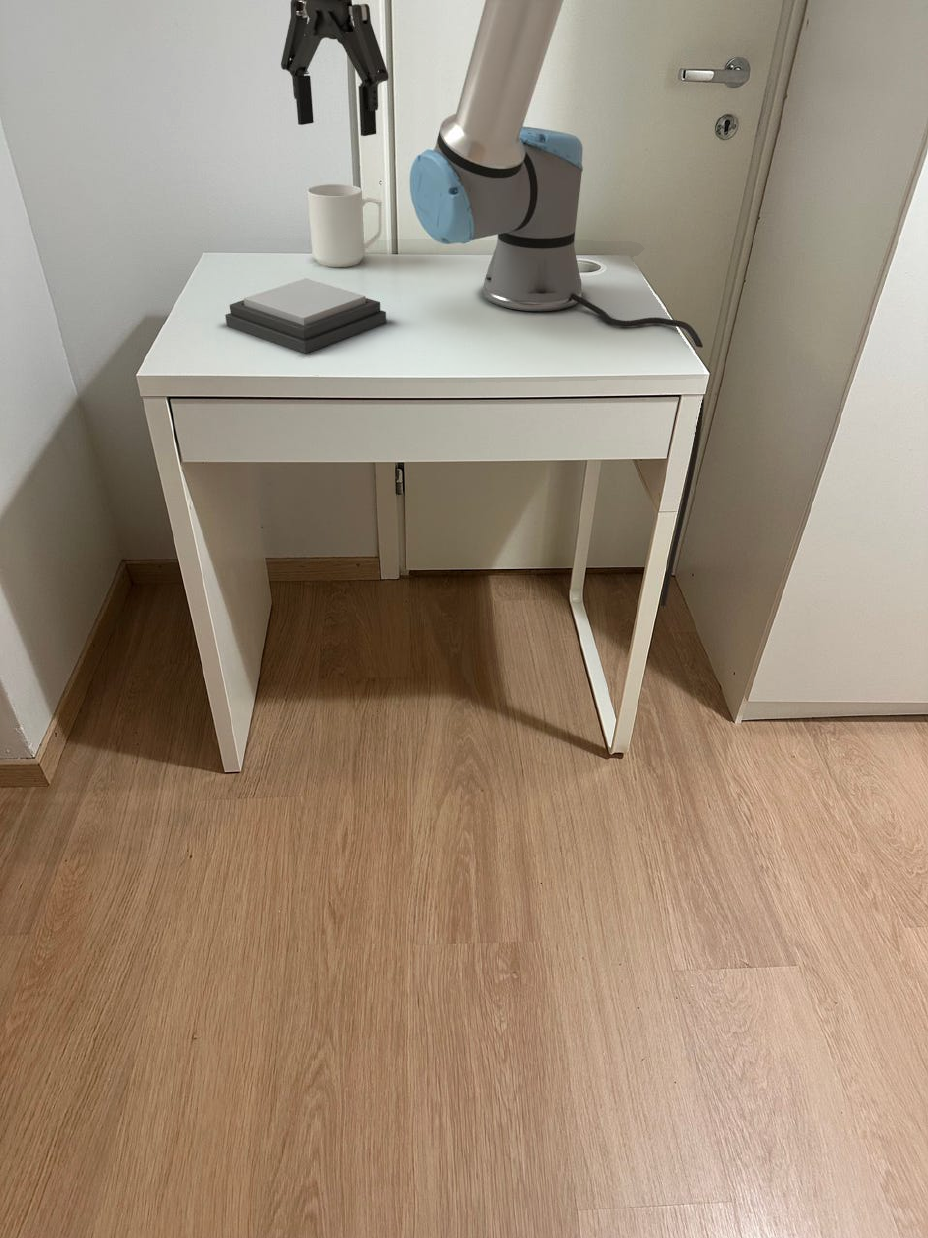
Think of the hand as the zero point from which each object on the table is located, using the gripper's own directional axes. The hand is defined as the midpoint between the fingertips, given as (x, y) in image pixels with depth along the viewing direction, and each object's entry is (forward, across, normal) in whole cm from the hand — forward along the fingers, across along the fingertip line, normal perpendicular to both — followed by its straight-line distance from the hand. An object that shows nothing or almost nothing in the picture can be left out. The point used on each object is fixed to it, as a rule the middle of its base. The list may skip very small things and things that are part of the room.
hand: (336, 129), depth 138 cm
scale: (+20, -17, +26) cm, 37 cm away
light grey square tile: (+17, -17, +26) cm, 36 cm away
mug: (+20, -1, 0) cm, 20 cm away
